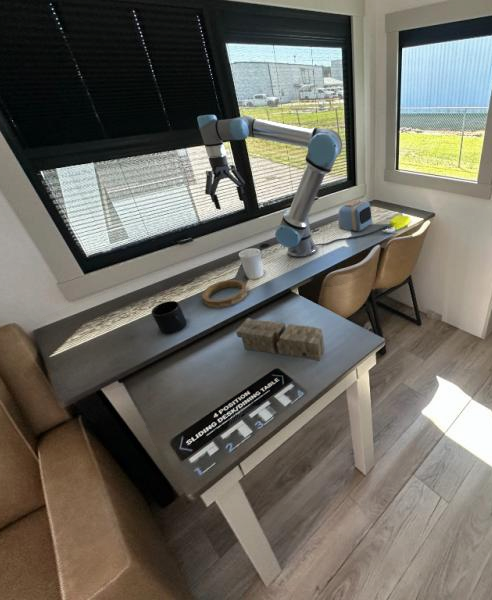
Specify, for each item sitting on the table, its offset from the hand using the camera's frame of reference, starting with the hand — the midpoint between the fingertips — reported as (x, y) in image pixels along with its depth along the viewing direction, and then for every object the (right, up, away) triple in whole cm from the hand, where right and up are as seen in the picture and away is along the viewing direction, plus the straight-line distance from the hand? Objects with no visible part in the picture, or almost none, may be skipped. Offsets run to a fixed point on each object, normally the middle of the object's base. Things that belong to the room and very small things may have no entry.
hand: (230, 204), depth 149 cm
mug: (-11, -56, -27) cm, 63 cm away
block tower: (+34, -62, -40) cm, 81 cm away
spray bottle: (+85, 0, +46) cm, 97 cm away
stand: (+2, -43, -9) cm, 44 cm away
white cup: (+10, -33, +5) cm, 35 cm away
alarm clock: (+60, +1, +51) cm, 79 cm away
